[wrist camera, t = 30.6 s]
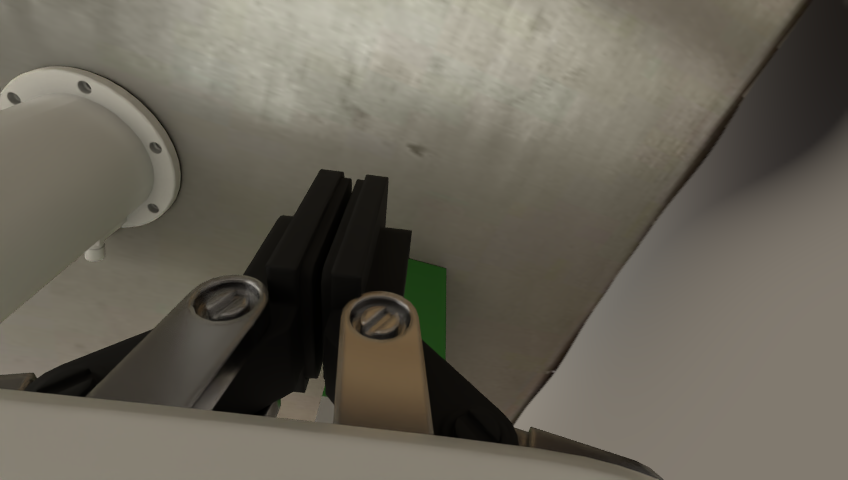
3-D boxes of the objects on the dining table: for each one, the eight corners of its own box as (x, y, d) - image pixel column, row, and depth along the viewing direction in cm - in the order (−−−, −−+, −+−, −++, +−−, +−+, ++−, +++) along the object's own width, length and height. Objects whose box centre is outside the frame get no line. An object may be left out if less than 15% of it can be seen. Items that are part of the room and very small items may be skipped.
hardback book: (396, 389, 48) (358, 701, 28) (329, 373, 47) (243, 685, 27) (446, 268, 38) (443, 614, 19) (364, 246, 38) (268, 585, 18)
